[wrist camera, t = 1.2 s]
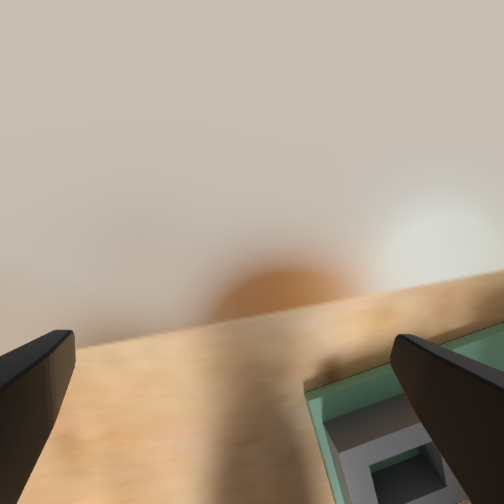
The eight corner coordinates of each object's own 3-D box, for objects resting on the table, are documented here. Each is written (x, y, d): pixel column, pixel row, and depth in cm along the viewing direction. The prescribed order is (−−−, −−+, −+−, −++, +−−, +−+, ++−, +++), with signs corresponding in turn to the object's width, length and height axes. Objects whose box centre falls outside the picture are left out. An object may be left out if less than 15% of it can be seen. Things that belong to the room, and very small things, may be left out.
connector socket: (443, 464, 27) (472, 497, 24) (344, 503, 26) (362, 542, 23) (428, 383, 26) (457, 408, 23) (322, 422, 25) (338, 453, 22)
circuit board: (545, 432, 30) (557, 440, 29) (338, 514, 28) (343, 526, 27) (533, 311, 27) (546, 315, 26) (304, 393, 25) (308, 401, 24)
